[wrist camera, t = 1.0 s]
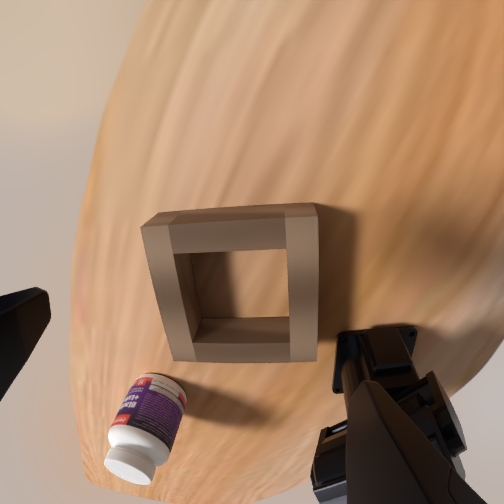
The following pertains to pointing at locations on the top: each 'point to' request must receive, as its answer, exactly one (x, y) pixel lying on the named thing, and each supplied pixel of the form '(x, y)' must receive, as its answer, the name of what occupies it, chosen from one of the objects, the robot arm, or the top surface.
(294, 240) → the socket
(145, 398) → the pill bottle
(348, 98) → the top surface
